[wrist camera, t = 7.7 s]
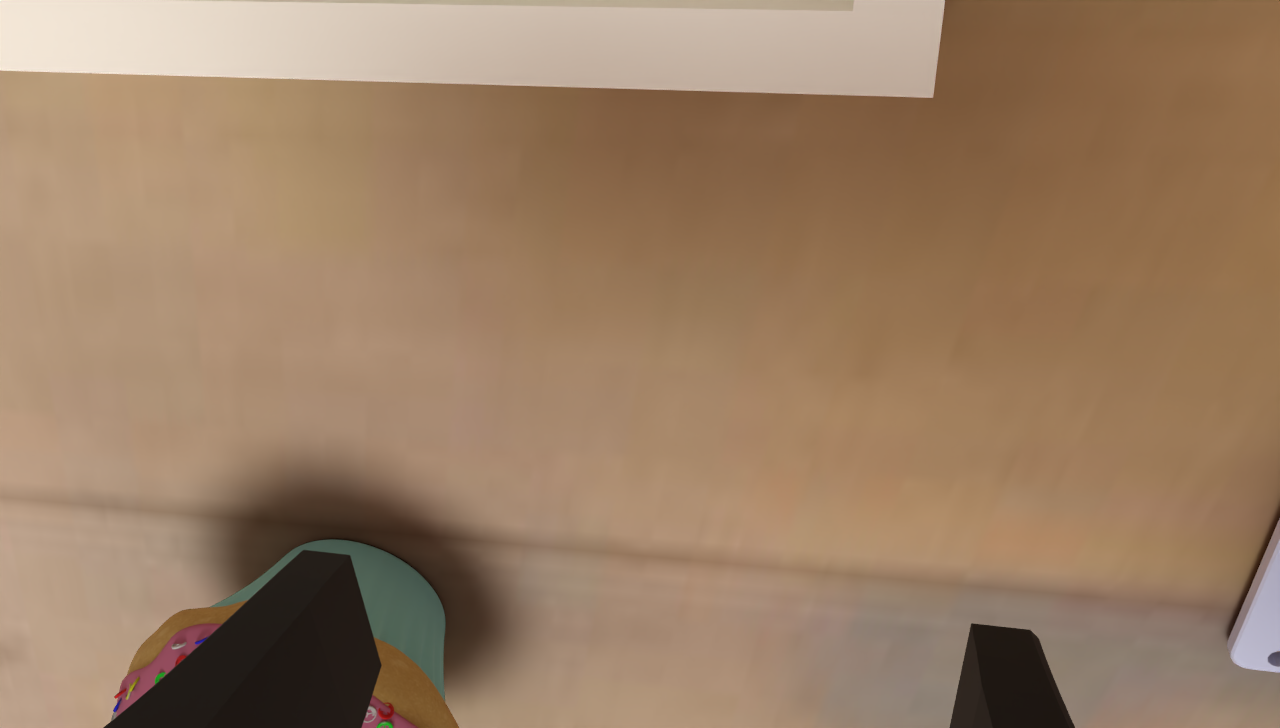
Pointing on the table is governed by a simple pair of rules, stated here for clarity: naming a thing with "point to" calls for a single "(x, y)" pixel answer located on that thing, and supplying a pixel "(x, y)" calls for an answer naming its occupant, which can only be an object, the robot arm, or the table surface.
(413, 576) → the cupcake
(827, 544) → the table surface
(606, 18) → the cream bin
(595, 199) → the table surface
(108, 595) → the table surface
